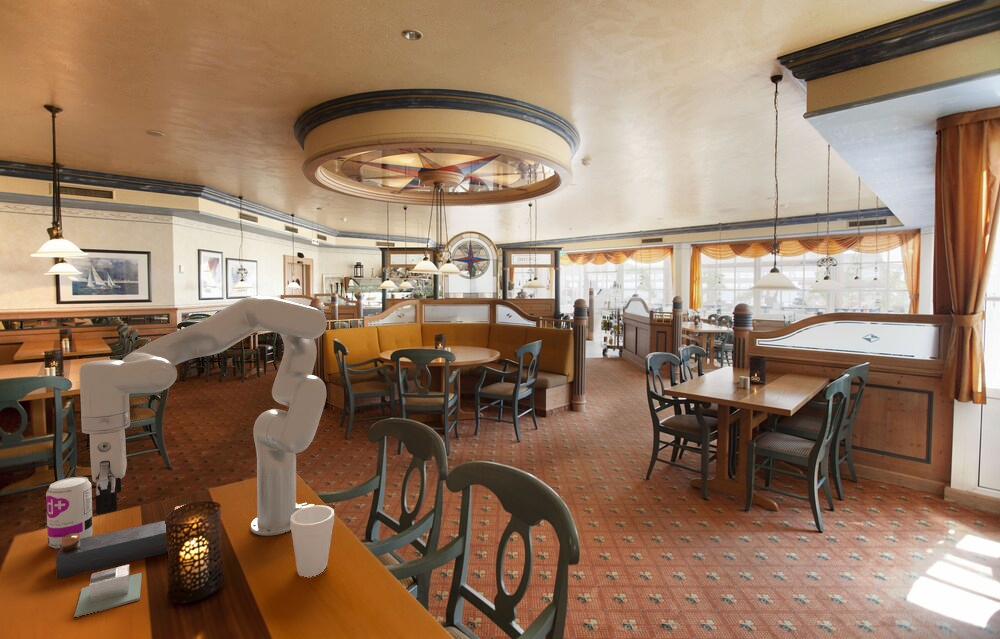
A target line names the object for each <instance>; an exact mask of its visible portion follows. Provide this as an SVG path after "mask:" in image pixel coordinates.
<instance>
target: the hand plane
mask: <svg viewBox="0 0 1000 639" xmlns="http://www.w3.org/2000/svg"><path fill="white" fill-rule="evenodd" d="M184 505H185V504H181V505H178V506H175V507H174V511H175V510H176V509H178V508H180V507H182V506H184ZM166 552H167V543H166V524H165V520H161V521H157V522H153V523H152V522H151V523H147V524H144V525H143V524H142V525H138V526H134V527H129V528H124V529H120V530H115V531H110V532H105V533H101V534H100V533H99V534H96V535H91V536H90V537H86V538H82V539H80V534H79V533H72V534H68V535H66V536H64V537H62V544H61V546H60V549H58V551H57V554H56V557H55V570H56V572H55V574H56V580H62V579H65V578H68V577H73V576H78V575H81V573H82V574H86V573H90V572H94V571H97V570H100V569H102V570H103V569H105V568H110V567H114V566H117V565H122V564H125V563H126V564H127V563H130V562H133V561H139V560H142V559H146V558H150V557H154V556H158V555H162V554H165V553H166ZM167 553H168V552H167ZM93 570H94V571H93ZM89 571H90V572H89ZM85 572H86V573H85Z"/></svg>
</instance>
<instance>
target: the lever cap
mask: <svg viewBox="0 0 1000 639" xmlns="http://www.w3.org/2000/svg"><path fill="white" fill-rule="evenodd" d="M129 585H130V564H125V565H122V566H118V567H113V568H110V569H105V570H102V571H97V572H93V573H91V576H90V583H89V586H90V604H93V603H96V602H100V601H104V600H107V599H111V598H114V597H118V596H121V595H125V594H128V593H129Z"/></svg>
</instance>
